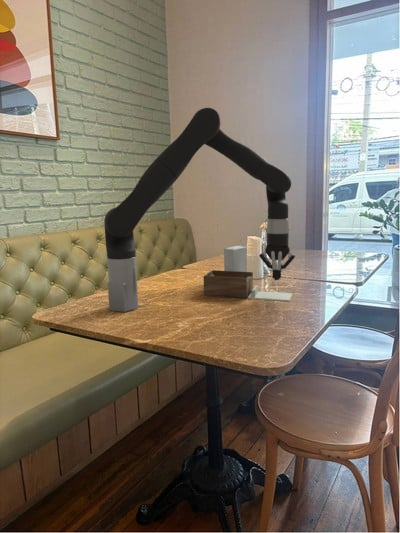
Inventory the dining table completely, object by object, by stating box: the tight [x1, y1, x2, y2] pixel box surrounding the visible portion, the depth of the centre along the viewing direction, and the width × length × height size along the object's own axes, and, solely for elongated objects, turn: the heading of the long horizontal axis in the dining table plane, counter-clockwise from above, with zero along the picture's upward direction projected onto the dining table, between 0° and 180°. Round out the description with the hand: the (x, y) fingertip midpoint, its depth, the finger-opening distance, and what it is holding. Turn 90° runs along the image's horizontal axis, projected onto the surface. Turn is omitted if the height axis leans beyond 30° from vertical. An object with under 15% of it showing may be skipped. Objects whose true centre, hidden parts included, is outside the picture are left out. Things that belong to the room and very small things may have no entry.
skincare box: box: [223, 245, 248, 272], centre depth 165 cm, size 8×6×15 cm
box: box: [203, 269, 254, 299], centre depth 147 cm, size 11×16×7 cm
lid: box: [247, 284, 293, 302], centre depth 142 cm, size 10×15×4 cm, turn 72°
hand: (276, 279), depth 141 cm, fingers closed
